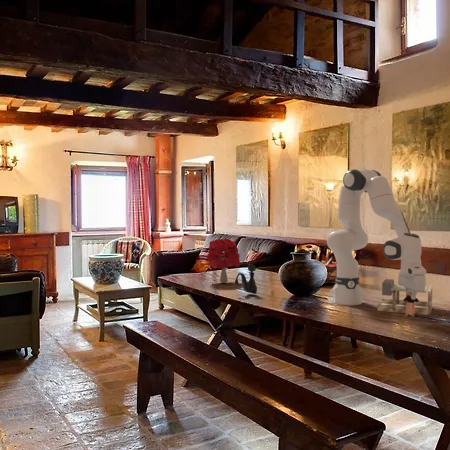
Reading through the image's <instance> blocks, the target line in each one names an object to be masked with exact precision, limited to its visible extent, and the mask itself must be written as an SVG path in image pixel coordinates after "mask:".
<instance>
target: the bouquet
mask: <svg viewBox="0 0 450 450" xmlns="http://www.w3.org/2000/svg"><path fill="white" fill-rule="evenodd" d="M208 244H209V246H208V253H207V257H206V258H207V259H206V260H207V261H208V265H209V266H210V267H212V268H213V269H221V272H220V277H219V283H225V284H226V283H228V279H229V278H228V275H227V270H226V268H228V267H232V266H233V267H234V268H239V267H240V263H241V259H240V257H241V254H240V253H239V248H238V246H237V244H236V242H235V241H234V240H232V239H229V238H226V237H224V238H220V239H219V238H218V239H214V240H211V241H209V243H208Z"/></svg>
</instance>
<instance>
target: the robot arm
mask: <svg viewBox="0 0 450 450" xmlns="http://www.w3.org/2000/svg"><path fill="white" fill-rule="evenodd" d="M363 193H367V194H368V197H369V202H370V205H371V208H372V211H373V212H374V213H375V214H376V215H377V216H379V217H382V218H384V219H385V220H387V221H388V222H389V223H391V224H392V226H393V227H394V230H395V233H396V236H397V237H396V238H393V239H389V240H387V241H385V242H384V243H383V246H382V253H383V255H384V257H385V258H386V259H387V260H393V261H399V260H400V270H399V271H398V276H397V283H398V285H400V286H403V287H405V291H404V293H405V297H406V296H409V295H408V289H411V292H412V295H411V299H413V300H414V299H416V298H417V294H418V293H422V292H424V290H425V286H427V285H426V284H427V283H426V282H427V281H426V280H427V279H426V275H427V269H426V268H425V267H424V266H423V265H422V259H421V256H422V240H421V237H420V236H419V235H418V234H416V233H411V231H410V228H409V225H408V223H407V221H406V219H405V216H404V214H403V212H402V211H401V209H400V207H399V206H398V204H397V202H396V200H395V197H394V194H393V190H392V187H391V185H390V183H389V182H388V179H387V178H386V177H385V176H383V175H382V174H381V173H380V172H379V171H378V170H374V169H367V168H362V169H361V168H360V169H349V170H347V171H346V172H344V175H343V178H342V185H341V186H340V190H339V195H338V208H337V209H338V210H337V218H338V220H339V221H340V222H341V223H342V226H343V229H342V230H341V229H339V230H335V231H332V232H329V234H328V235H327V236H326V244H327V247H328V248H329V249H330V251H331V252H332V253H333V255H334V258H335V261H336V263H335V264H337V268H336V277H335V278H336V282H335V283H334V285H333V287H332V288H331V289H329V295H331V296H328V297H327V301H328V302H329V304H330V305H342V306H358V305H361V304H365V303H366V301H365V300H363V289H362V287H361V286H360V277H359V262H358V260H356V258H355V257H354V256H353V251H357V250H361V249H363V248H364V249H365V247H366V246H367V245H368V243H369V238H368V234H367V233H366V232H365V230H363V226H362V223H361V196H362V194H363Z"/></svg>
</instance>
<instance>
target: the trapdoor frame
mask: <svg viewBox="0 0 450 450" xmlns="http://www.w3.org/2000/svg"><path fill="white" fill-rule="evenodd" d="M403 300H404V299H400V291H396V290H393V293H392V298H381V304H377V312H378V311H379V312H387V313H402V314H406V304H407V301H405V303H404V304H402V302H403ZM414 303H415V314H414V315H423V316H425V315H426V316H427V315H428V316H431V314H432V311H433V285H429V286H428V289H427V300H425V301H423V300H419V303H420V305H418V303H417V302H415V301H414Z"/></svg>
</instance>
